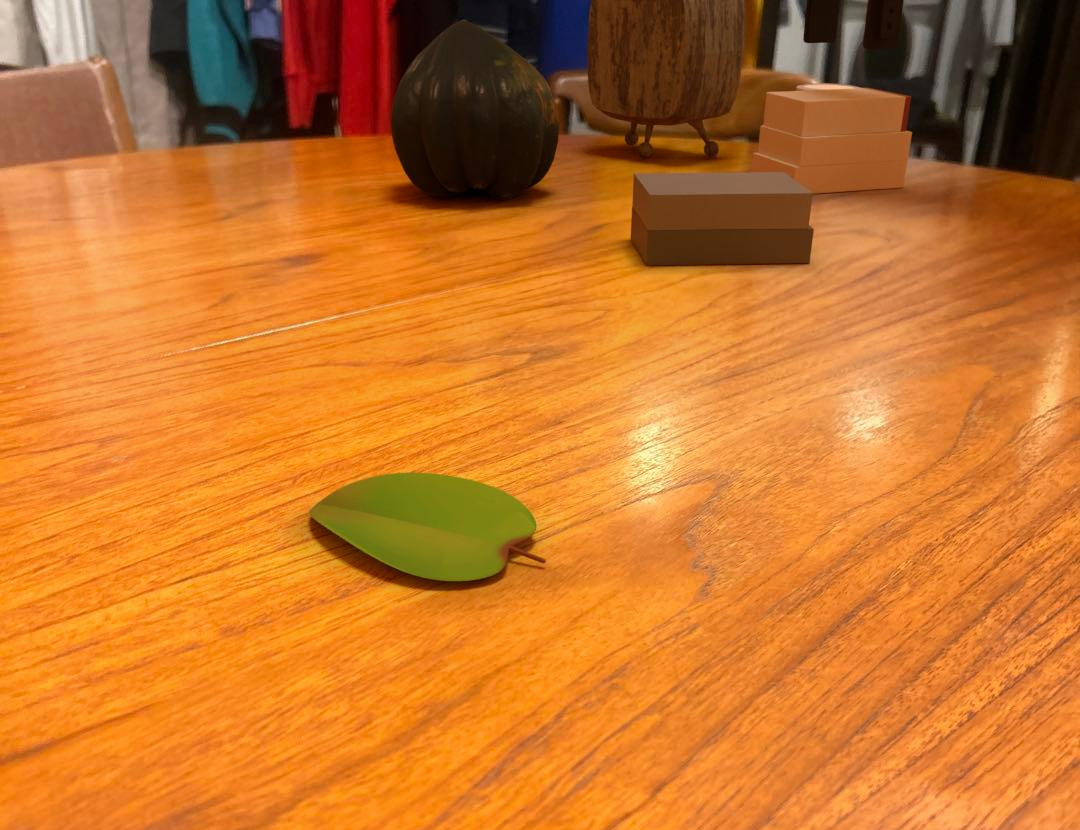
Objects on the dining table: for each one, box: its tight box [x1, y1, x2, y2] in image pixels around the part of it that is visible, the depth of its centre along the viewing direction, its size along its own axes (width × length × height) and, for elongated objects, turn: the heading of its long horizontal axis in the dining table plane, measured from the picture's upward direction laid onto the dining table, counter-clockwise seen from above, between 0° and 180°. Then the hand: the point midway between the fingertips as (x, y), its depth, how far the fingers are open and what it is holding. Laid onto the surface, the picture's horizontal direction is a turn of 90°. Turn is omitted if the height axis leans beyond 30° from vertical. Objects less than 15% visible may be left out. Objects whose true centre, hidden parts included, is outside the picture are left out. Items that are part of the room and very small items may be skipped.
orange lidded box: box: [750, 124, 913, 195], centre depth 104 cm, size 12×8×5 cm, turn 109°
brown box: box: [630, 171, 815, 267], centre depth 81 cm, size 12×8×5 cm, turn 94°
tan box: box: [762, 87, 912, 137], centre depth 102 cm, size 11×7×3 cm, turn 109°
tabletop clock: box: [586, 0, 746, 159], centre depth 112 cm, size 14×9×25 cm, turn 49°
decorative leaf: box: [308, 472, 547, 582], centre depth 43 cm, size 8×9×1 cm
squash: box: [390, 19, 560, 201], centre depth 98 cm, size 14×15×15 cm
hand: (848, 45), depth 99 cm, fingers open, 9 cm apart
